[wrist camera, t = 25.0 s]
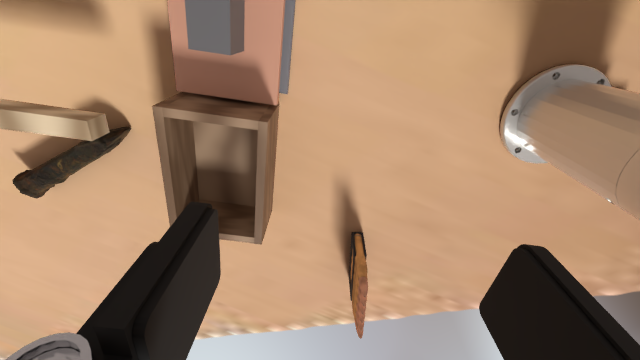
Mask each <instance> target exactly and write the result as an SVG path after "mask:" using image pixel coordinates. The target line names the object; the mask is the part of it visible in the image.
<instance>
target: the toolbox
mask: <svg viewBox="0 0 640 360" xmlns="http://www.w3.org/2000/svg"><path fill="white" fill-rule="evenodd" d="M152 107H153V114H154V121H155V128H156V134H157V141H158V148H159V155H160V162H161V168H162V175H163V182H164V189H165V196H166V202H167V209H168V216H169V223H170V227H171V225H172V224H173V223H174V222H175V220H176V219H177V218H178V216H179V215H180V214H181V213H182V211H183V210H184V209H185V207H186V206H187V205H188V204H189V203H190V202H192V201H193V202H201V203H209V204H211V205H212V209H216V210H217V211H218V225H219V239H222V240H230V241H238V242H246V243H254V244H262V241H263V238H264V235H265V231H266V228H267V225H268V222H269V218H270V215H271V212H272V202H273V188H274V173H275V159H276V144H277V130H278V115H279V104H277V105H271V104H264V103H257V102H250V101H243V100H237V99H230V98H223V97H216V96H209V95H202V94H195V93H188V92H181V93H179V94H177V95H175V96H173V97H171V98H169V99H166V100H164V101H162V102H160V103H158V104H156V105H153V106H152Z"/></svg>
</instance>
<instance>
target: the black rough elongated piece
mask: <svg viewBox="0 0 640 360" xmlns="http://www.w3.org/2000/svg"><path fill="white" fill-rule="evenodd" d="M130 130H131V128H130V127H123V128H118V129H115V130H109V132H110V133H108V134H105V135H103V136H101V137H99V138H97V139H95V140H93V141H87V140H85V141H83V142H81V143H79V144H78V145H77V146H75V147H73V148H71V149H70V150H68V151H66V152H64V153H62V154H60V155H58V156H56V157H55V158H53V159H51V160H49V161H48V162H46V163H44V164H42V165H40V166H39V167H37V168H35V169H33V170H26V171H25V172H22V173H20V174H18V175H17V176H16V177H15V178H14V179H13V184H14V185H15V186H16V188H17V189H18V190H20V193H22V194H25V195H28V196H30V197H33V198H39V197H42V196H43V195H44V194H45V192H46V191H48V190H49V189H50V188H52V187H54V186H55V184H58V183H62V182H64V181H65V180H66V179H67V178H68V177H69V176H70V175H72V174H74V173H75V172H77V171H78V170H80V169H81V168H83V167H85V166H86V165H88V164H90V163H91V162H93V161H95V160H96V159H98V158H100V157H101V156H103V155H104V154H106V153H108V152H110V151H111V150H112V149H114V148H115V147H116V146H118V145H119V144H120V142H121V141H122V140H123V139H124V138H125V137H126V136H127V134H128V133H129V132H130Z"/></svg>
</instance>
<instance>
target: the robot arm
mask: <svg viewBox="0 0 640 360" xmlns="http://www.w3.org/2000/svg"><path fill="white" fill-rule="evenodd" d="M500 134H501V139H502V142H503V145H504V146H505V148H506V149H507V150H508V151H509V152H510V153H511V154H512V155H514V156H515V157H517V158H518V159H520V160H522V161H525V162H529V163H550V164H551V165H553V166H554V167H556V168H557V169H559V170H561V171H562V172H564V173H565V174H567V175H569V176H570V177H572V178H573V179H575V180H576V181H578V182H580V183H581V184H583V185H584V186H586V187H587V188H589V189H591V190H592V191H594V192H595V193H597V194H598V195H600V196H602V197H603V198H605V199H606V200H608V201H609V202H611V203H613V204H614V205H616V206H618V207H619V208H621V209H622V210H624V211H626V212H627V213H629V214H630V215H632V216H634V217H635V218H637V219H638V220H640V93H637V92H632V91H628V90H623V89H619V88H614V87H612V86H611V84H610V82H609V80H608V78H607V77H606V76H605V75H604V74H603V73H602V72H600V71H599V70H597V69H595V68H593V67H589V66H586V65H578V64H567V65H561V66H557V67H553V68H550V69H548V70H545V71H543V72H541V73H540V74H538V75H536V76H534V77H533V78H531V79H530V80H529V81H528V82H526V83H525V84H524V85H523V86H522V87H521V88H520V89H519V90H518V91H517V92H516V93H515V94H514V96H513V97H512V98H511V100H510V101H509V103H508V104H507V106H506V108H505V110H504V113H503V116H502V119H501V125H500ZM220 272H221V271H220V248H219V225H218V211H217V210H216V209H212V205H211V204H209V203H201V202H193V201H192V202H190V203H189V204H188V205H187V206H186V207H185V209H184V210H183V211H182V213H181V214H180V215H179V216H178V218H177V219H176V220H175V222H174V223H173V224H172V225H171V227H170V228H169V229H168V230H167V232H166V233H165V234H164V236H163V237H162V238H161V239H160V241H159V242H153V243H151V244H150V245H149V246H148V247H147V248H146V249H145V250H144V251H143V253H142V254H141V255H140V256H139V258H138V259H137V260H136V261H135V262H134V264H133V265H132V266H131V267H130V269H129V270H128V271H127V272H126V273H125V275H124V276H123V277H122V278H121V280H120V281H119V282H118V283H117V284H116V286H115V287H114V288H113V289H112V291H111V292H110V293H109V294H108V296H107V297H106V298H105V299H104V300H103V302H102V303H101V304H100V305H99V307H98V308H97V309H96V310H95V311H94V313H93V314H92V315H91V316H90V318H89V319H88V320H87V321H86V323H85V324H84V325H83V326H82V327H81V329H80V330H79V331H78V332H77V334H74V333H59V334H53V335H50V336H47V337H43V338H40V339H38V340H36V341H34V342H32V343H30V344H28V345H26V346H24V347H23V348H21V349H20V350H18V351H17V352H15V353H14V354H12V355H11V356H10V357H8V358H7V359H6V360H186V358H187V356H188V353H189V351H190V349H191V346H192V344H193V342H194V339H195V337H196V335H197V332H198V330H199V328H200V325H201V323H202V321H203V318H204V316H205V314H206V311H207V309H208V307H209V304H210V302H211V300H212V297H213V295H214V292H215V290H216V288H217V285H218V283H219V279H220ZM479 310H480V314H481V316H482V318H483V320H484V322H485V324H486V326H487V328H488V330H489V332H490V334H491V336H492V338H493V339H494V341H495V343H496V345H497V347H498V349H499V351H500V353H501V355H502V357H503V359H504V360H640V345H639V344H638V343H637V342H636V341H635V340H634V339H633V338H632V337H631V336H630V335H629V334H628V333H627V332H626V331H625V330H624V328H623V327H622V326H621V325H620V324H619V323H618V322H617V321H616V320H615V319H614V318H613V317H612V316H611V315H610V314H609V313H608V312H607V311H606V310H605V309H604V308H603V307H602V306H601V305H600V304H599V303H598V302H597V301H596V299H595V298H594V297H593V296H592V295H591V294H590V293H589V292H588V291H587V290H586V289H585V288H584V287H583V286H582V285H581V284H580V283H579V282H578V281H577V280H576V279H575V278H574V277H573V276H572V275H571V274H570V273H569V272H568V271H567V269H566V268H565V267H564V266H563V265H562V264H561V263H560V262H559V261H558V260H557V259H556V258H555V257H554V256H553V255H552V254H551V253H550V252H549V251H548V250H547V249H546V248H544V247H541V246H534V245H526V244H523V245H520V246H519V247H518V248H516V249H514V250H513V251H512V253H511V254H510V256H509V257H508V259H507V261H506V262H505V264H504V266H503V267H502V269H501V270H500V272H499V274H498V275H497V277H496V278H495V280H494V282H493V283H492V285H491V287H490V288H489V290H488V291H487V293H486V295H485V296H484V298H483V299H482V301H481V303H480V306H479Z"/></svg>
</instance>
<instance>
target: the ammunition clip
mask: <svg viewBox="0 0 640 360" xmlns="http://www.w3.org/2000/svg"><path fill="white" fill-rule="evenodd" d="M349 285H350V296H351V301H352V308H353V314H354V318H355V325H356V330H357V333H358V336H359V338H362V335H363V327H364V318H365V309H366V301H367V292H368V282H367V264H366V249H365V243H364V236H363V233H355V232H352V237H351V252H350V268H349Z"/></svg>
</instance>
